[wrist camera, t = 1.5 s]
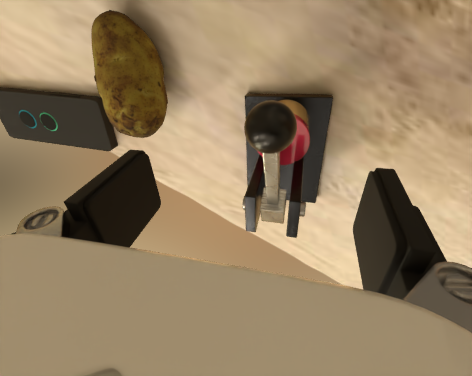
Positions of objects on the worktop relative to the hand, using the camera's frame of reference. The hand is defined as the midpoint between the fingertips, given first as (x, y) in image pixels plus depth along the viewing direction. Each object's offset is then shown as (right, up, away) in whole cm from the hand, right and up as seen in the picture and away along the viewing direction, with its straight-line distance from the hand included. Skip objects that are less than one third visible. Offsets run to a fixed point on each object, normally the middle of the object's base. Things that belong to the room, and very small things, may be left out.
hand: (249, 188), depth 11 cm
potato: (-12, +15, +22) cm, 29 cm away
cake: (+5, +8, +20) cm, 22 cm away
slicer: (+6, +5, +24) cm, 25 cm away
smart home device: (-29, +11, +30) cm, 43 cm away
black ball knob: (+3, +2, +10) cm, 11 cm away
